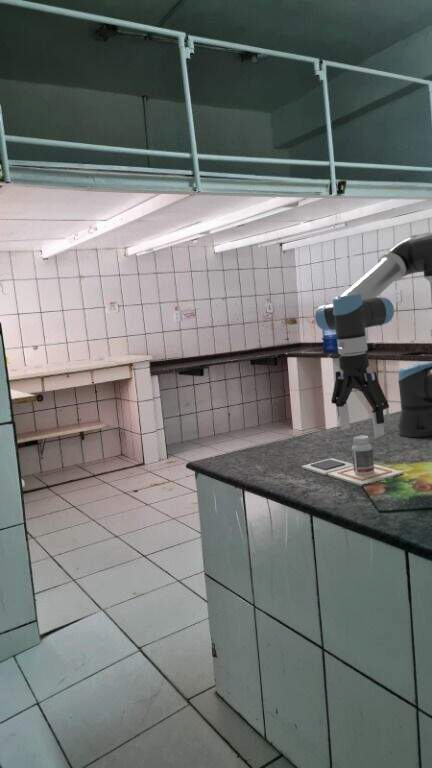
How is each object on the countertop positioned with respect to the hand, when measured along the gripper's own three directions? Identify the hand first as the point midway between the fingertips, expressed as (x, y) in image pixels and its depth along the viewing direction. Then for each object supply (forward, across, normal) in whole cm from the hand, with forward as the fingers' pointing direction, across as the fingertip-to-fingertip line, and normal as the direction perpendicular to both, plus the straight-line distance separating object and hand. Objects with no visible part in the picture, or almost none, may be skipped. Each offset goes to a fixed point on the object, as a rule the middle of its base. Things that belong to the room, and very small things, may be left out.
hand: (361, 432), depth 151 cm
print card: (+12, 0, -1) cm, 12 cm away
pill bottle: (+11, 0, -1) cm, 11 cm away
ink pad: (+12, -13, -3) cm, 18 cm away
